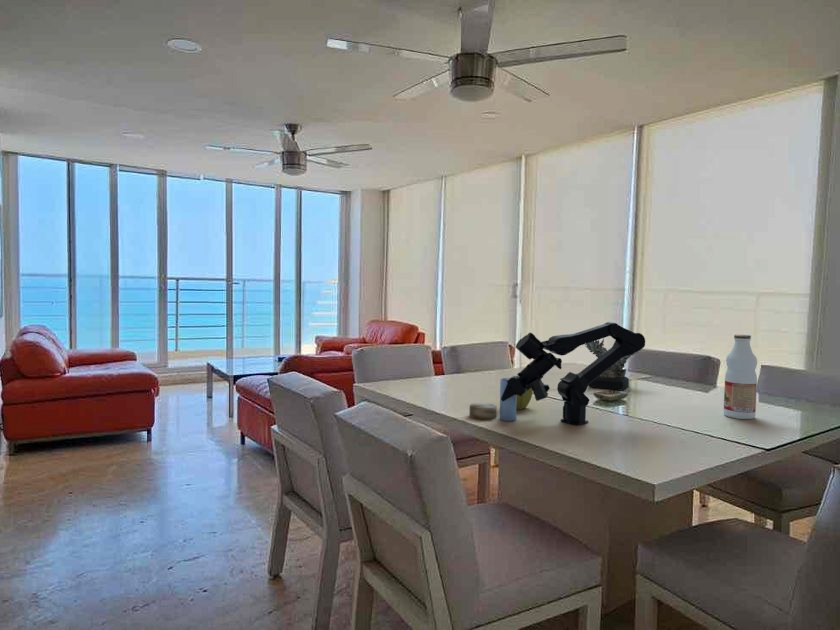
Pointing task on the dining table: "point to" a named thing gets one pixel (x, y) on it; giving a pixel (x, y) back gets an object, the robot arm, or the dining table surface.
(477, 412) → the grey-beige round disc
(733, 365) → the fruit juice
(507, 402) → the vase
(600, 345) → the coral
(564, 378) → the robot arm
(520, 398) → the flower pot
